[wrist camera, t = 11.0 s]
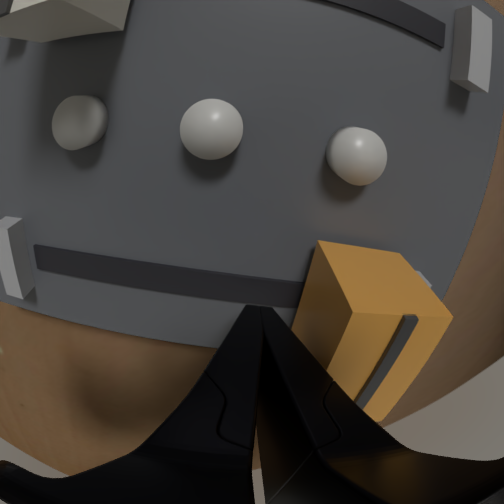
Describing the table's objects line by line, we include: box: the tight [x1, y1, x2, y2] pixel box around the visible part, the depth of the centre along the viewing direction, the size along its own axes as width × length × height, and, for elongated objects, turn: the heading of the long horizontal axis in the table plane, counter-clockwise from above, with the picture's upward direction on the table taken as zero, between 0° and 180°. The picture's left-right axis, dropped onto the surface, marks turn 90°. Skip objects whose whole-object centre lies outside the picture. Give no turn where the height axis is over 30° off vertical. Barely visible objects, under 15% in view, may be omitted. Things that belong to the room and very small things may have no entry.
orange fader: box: [291, 240, 453, 422], centre depth 8 cm, size 3×4×4 cm, turn 171°
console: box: [0, 0, 504, 348], centre depth 8 cm, size 20×16×2 cm
